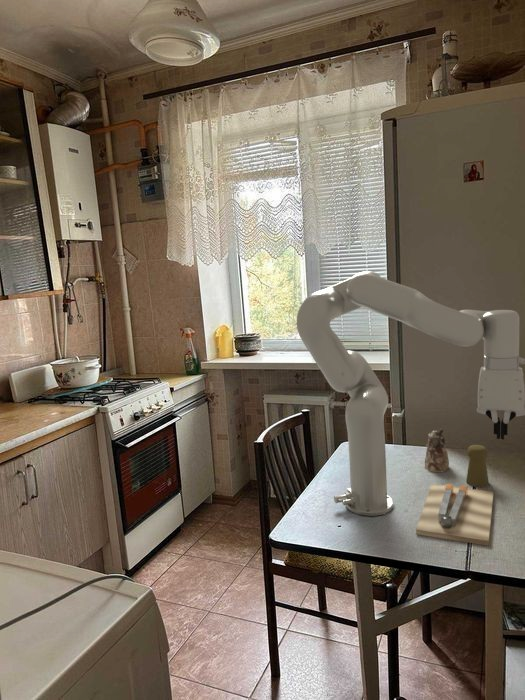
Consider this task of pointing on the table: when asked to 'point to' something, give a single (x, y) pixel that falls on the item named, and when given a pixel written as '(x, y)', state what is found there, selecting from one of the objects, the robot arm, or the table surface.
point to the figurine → (436, 453)
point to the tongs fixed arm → (446, 501)
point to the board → (471, 519)
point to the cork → (477, 466)
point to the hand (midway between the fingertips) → (500, 437)
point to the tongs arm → (455, 509)
